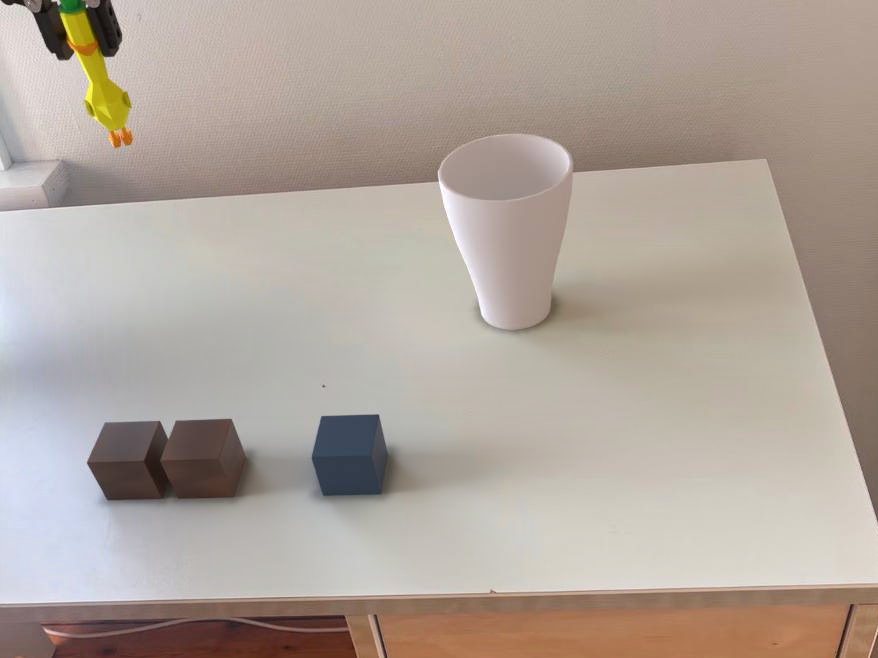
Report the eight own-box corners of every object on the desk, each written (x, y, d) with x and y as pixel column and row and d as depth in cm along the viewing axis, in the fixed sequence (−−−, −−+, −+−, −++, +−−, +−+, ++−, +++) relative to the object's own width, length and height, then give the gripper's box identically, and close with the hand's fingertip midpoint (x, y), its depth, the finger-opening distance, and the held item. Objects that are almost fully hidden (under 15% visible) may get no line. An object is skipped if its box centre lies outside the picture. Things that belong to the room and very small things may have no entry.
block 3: (323, 499, 72) (310, 457, 69) (332, 458, 75) (320, 415, 72) (381, 498, 72) (371, 455, 69) (388, 456, 75) (379, 413, 71)
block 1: (109, 504, 74) (86, 462, 71) (125, 463, 77) (104, 422, 74) (164, 502, 74) (143, 461, 70) (179, 462, 76) (160, 420, 73)
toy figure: (98, 128, 85) (41, -23, 76) (139, 119, 85) (87, -32, 76) (103, 162, 80) (43, 7, 71) (146, 153, 81) (92, -3, 72)
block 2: (179, 502, 74) (159, 461, 70) (193, 461, 76) (175, 419, 73) (235, 501, 73) (218, 459, 70) (247, 460, 76) (231, 418, 73)
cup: (469, 360, 81) (451, 213, 71) (446, 290, 88) (427, 147, 78) (590, 335, 82) (589, 186, 72) (558, 268, 89) (553, 123, 79)
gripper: (105, -239, 66) (185, 29, 79) (-89, -218, 67) (22, 41, 81) (71, -211, 61) (162, 69, 74) (-137, -190, 63) (-12, 82, 76)
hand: (89, 53), depth 77 cm, fingers closed on toy figure, 3 cm apart
